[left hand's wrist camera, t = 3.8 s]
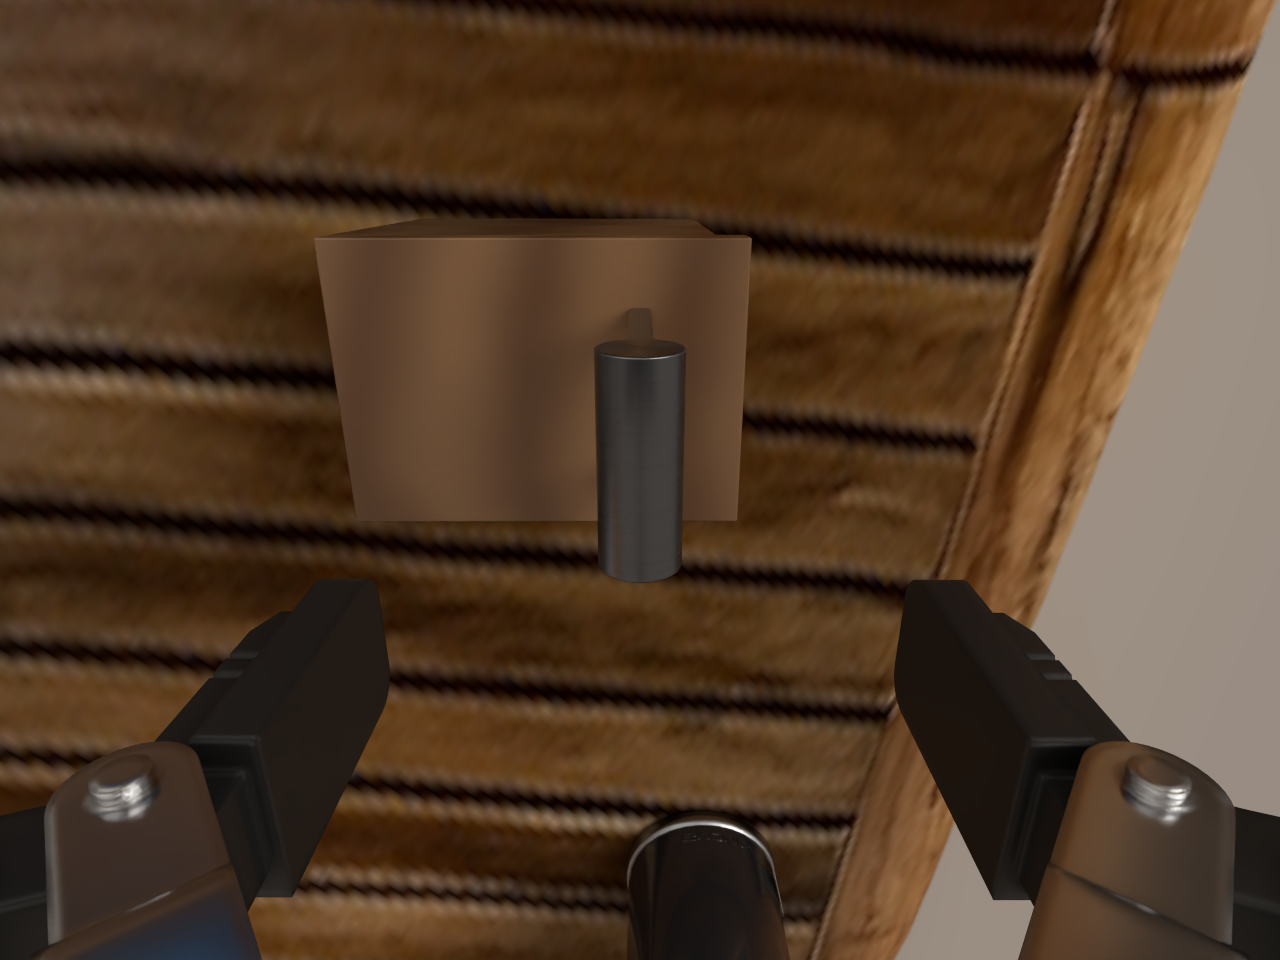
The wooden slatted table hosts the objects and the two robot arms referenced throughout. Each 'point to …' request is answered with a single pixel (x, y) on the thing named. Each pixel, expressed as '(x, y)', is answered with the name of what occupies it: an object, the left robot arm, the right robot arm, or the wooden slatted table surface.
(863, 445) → the wooden slatted table surface
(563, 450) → the lid
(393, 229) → the chest
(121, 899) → the left robot arm
